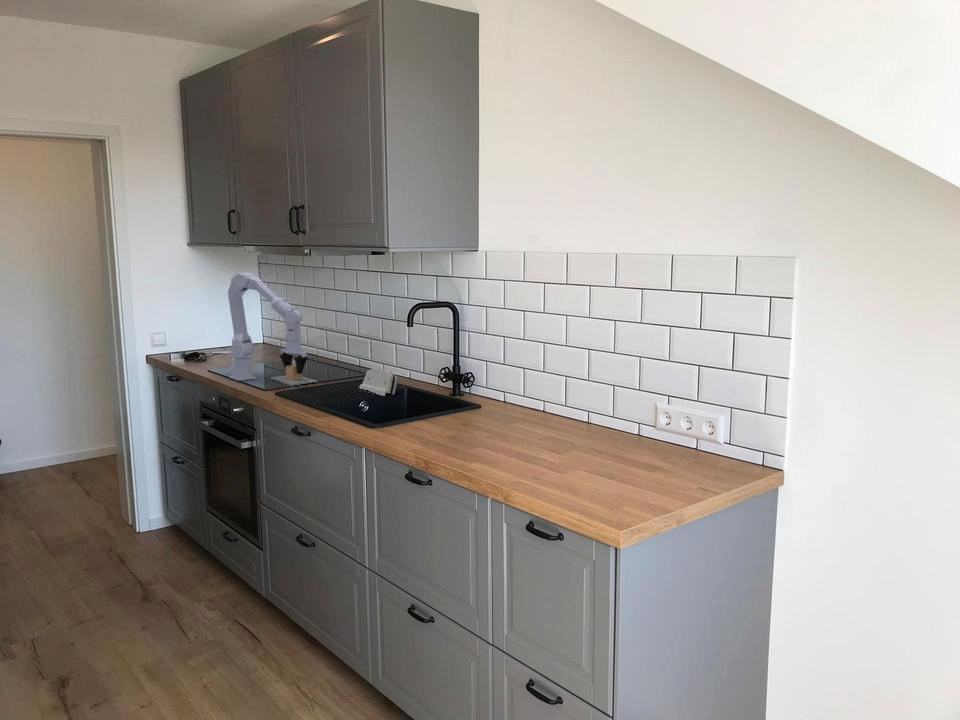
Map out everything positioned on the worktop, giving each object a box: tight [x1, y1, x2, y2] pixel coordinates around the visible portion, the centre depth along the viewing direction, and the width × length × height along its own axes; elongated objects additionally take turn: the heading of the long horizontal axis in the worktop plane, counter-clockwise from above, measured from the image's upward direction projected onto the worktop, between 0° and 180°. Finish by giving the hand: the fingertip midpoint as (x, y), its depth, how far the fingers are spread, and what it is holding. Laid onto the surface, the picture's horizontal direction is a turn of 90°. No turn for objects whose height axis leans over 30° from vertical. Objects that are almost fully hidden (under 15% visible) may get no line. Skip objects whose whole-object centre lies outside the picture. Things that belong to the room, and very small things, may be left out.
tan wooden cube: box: [285, 364, 303, 380], centre depth 326 cm, size 5×5×6 cm
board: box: [269, 375, 319, 387], centre depth 326 cm, size 18×12×4 cm, turn 42°
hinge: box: [358, 368, 398, 397], centre depth 310 cm, size 17×5×10 cm, turn 46°
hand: (293, 372), depth 326 cm, fingers open, 7 cm apart
